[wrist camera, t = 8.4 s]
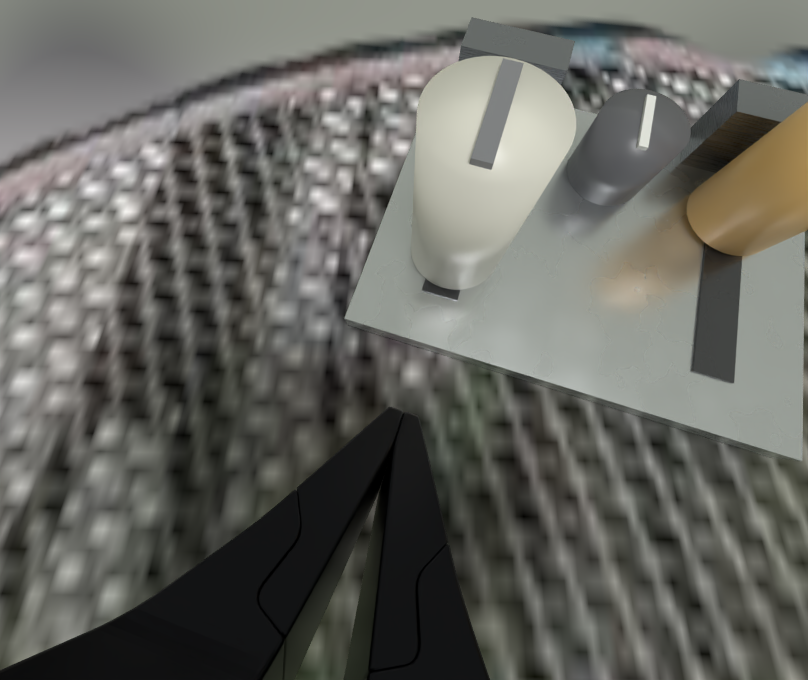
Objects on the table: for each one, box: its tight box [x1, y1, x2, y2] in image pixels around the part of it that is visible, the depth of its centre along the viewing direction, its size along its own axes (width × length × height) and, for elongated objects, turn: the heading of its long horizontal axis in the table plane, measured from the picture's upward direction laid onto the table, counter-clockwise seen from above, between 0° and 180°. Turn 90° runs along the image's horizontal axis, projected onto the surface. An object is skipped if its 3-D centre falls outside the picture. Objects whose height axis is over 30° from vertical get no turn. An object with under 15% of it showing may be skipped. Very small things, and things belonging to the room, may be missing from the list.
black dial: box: [566, 89, 691, 206], centre depth 15 cm, size 4×4×3 cm
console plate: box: [344, 18, 808, 461], centre depth 15 cm, size 16×21×4 cm
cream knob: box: [411, 56, 576, 290], centre depth 12 cm, size 4×4×7 cm
